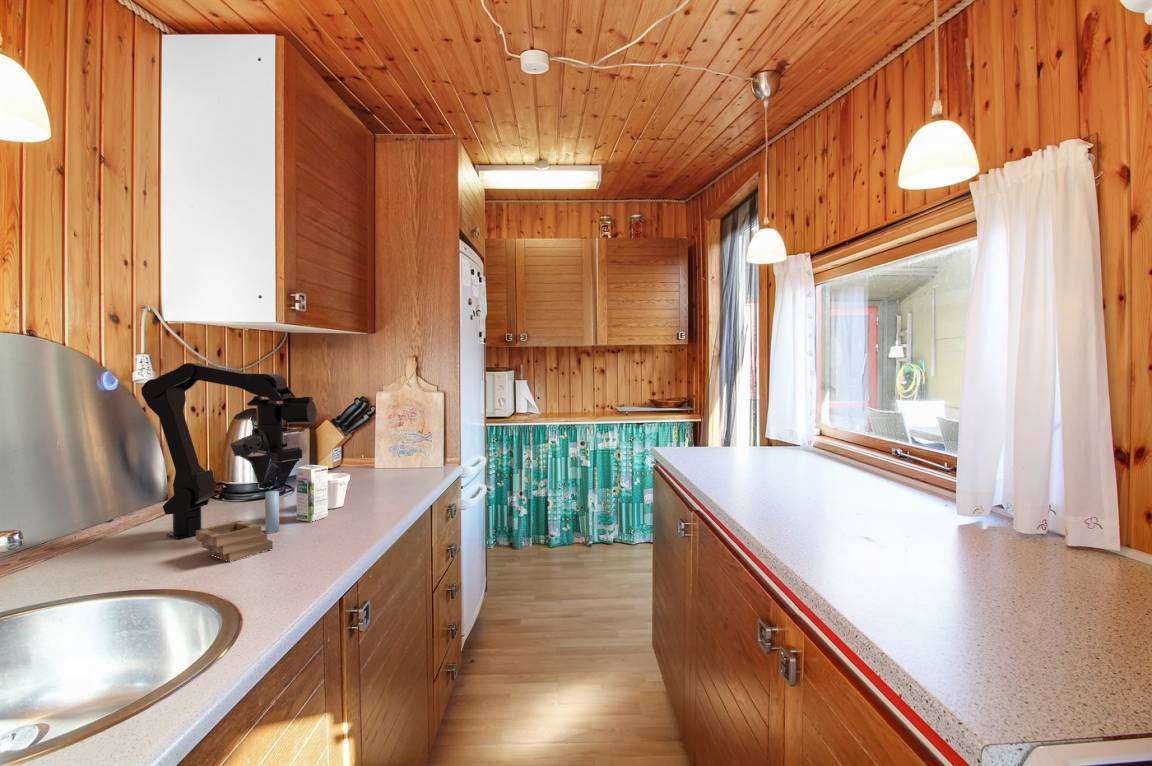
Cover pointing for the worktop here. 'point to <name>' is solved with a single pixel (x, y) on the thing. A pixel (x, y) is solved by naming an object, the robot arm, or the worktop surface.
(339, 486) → the cup
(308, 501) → the syrup box
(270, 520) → the gray dowel
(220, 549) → the leaning socket
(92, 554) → the worktop surface
